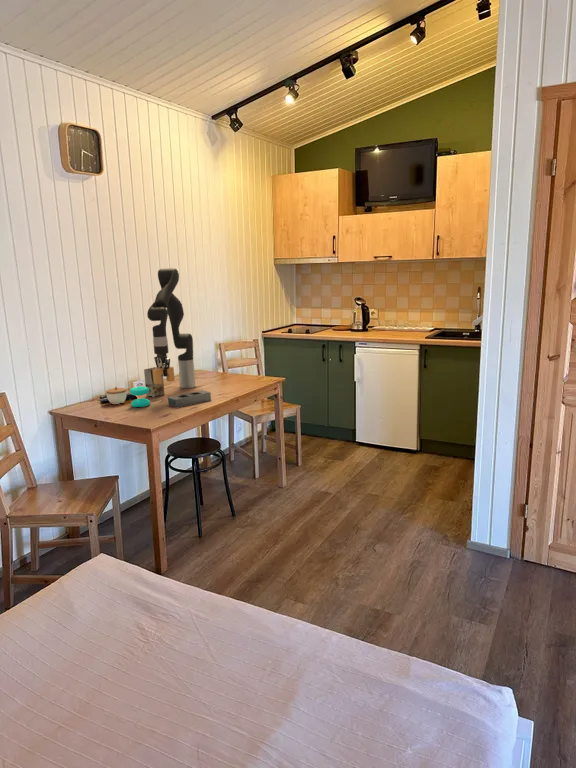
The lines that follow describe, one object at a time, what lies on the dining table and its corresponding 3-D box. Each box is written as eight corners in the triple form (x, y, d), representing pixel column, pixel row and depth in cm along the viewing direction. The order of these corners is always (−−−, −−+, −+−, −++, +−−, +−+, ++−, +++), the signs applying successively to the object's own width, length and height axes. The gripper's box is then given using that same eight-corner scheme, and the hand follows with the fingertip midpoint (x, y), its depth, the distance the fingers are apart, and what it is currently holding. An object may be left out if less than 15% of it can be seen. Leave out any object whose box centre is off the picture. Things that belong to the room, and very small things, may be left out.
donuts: (134, 390, 283) (126, 388, 291) (136, 409, 285) (128, 406, 293) (152, 387, 290) (143, 385, 297) (153, 405, 292) (144, 402, 299)
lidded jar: (111, 401, 305) (109, 385, 303) (129, 400, 305) (128, 384, 303) (104, 406, 295) (102, 389, 293) (124, 405, 295) (122, 388, 293)
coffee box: (154, 397, 311) (151, 370, 308) (146, 396, 314) (143, 369, 311) (165, 394, 319) (162, 367, 315) (156, 393, 322) (154, 366, 318)
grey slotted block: (168, 405, 290) (167, 397, 289) (203, 398, 304) (202, 390, 303) (176, 408, 284) (175, 399, 283) (211, 400, 298) (210, 392, 297)
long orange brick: (153, 383, 293) (152, 369, 292) (171, 379, 300) (170, 366, 299) (156, 384, 291) (155, 370, 289) (174, 380, 298) (173, 367, 296)
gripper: (148, 344, 294) (151, 375, 298) (160, 346, 283) (164, 378, 287) (160, 342, 299) (163, 373, 302) (173, 344, 288) (176, 376, 292)
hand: (163, 375), depth 295 cm, fingers closed on long orange brick, 3 cm apart
